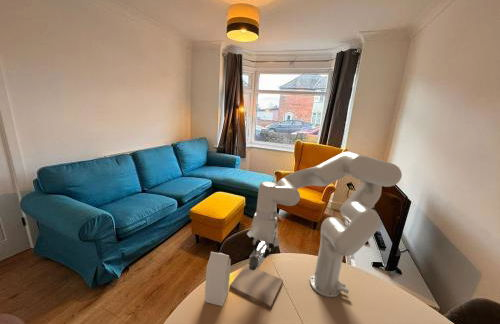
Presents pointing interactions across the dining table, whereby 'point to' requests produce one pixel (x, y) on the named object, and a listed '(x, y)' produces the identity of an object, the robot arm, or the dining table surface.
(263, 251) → the gray rounded bar
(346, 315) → the dining table surface
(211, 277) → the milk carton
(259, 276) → the walnut board
